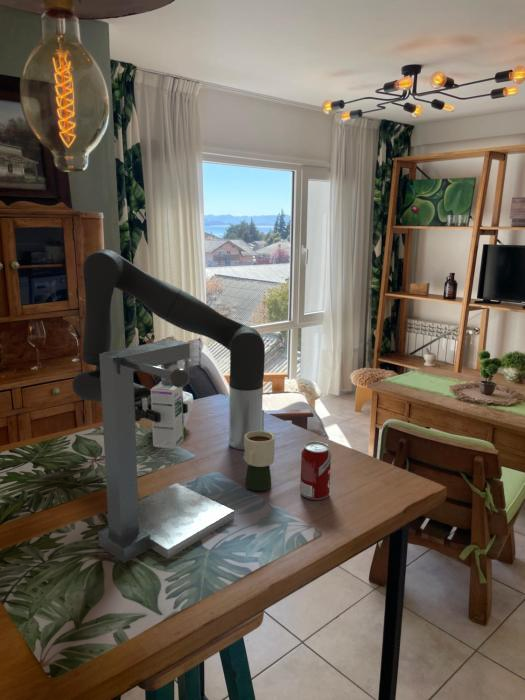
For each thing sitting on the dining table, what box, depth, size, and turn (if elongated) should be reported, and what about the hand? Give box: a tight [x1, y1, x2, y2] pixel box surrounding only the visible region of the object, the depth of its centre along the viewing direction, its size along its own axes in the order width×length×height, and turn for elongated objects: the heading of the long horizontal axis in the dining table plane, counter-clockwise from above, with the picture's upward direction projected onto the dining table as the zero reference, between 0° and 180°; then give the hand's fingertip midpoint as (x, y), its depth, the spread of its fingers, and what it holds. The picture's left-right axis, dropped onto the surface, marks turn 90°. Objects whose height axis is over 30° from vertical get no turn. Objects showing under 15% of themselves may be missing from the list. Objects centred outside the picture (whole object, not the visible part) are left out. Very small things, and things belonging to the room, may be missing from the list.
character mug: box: [243, 430, 276, 491], centre depth 122 cm, size 11×7×13 cm, turn 157°
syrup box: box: [150, 381, 185, 450], centre depth 121 cm, size 6×6×14 cm
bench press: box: [97, 338, 235, 564], centre depth 99 cm, size 24×27×38 cm
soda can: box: [299, 441, 332, 501], centre depth 119 cm, size 7×7×12 cm
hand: (173, 413), depth 120 cm, fingers closed on syrup box, 7 cm apart
